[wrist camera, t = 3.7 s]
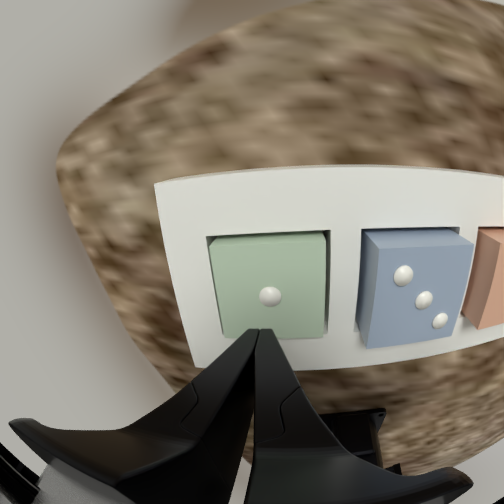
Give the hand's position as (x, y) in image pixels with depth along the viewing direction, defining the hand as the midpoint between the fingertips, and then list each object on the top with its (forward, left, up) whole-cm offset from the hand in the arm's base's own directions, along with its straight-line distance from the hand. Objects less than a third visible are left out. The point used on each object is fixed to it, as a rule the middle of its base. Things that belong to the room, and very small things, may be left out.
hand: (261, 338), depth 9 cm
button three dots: (0, -7, -5) cm, 9 cm away
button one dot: (0, 0, -6) cm, 6 cm away
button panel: (0, -7, -6) cm, 10 cm away
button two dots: (0, -14, -5) cm, 15 cm away
